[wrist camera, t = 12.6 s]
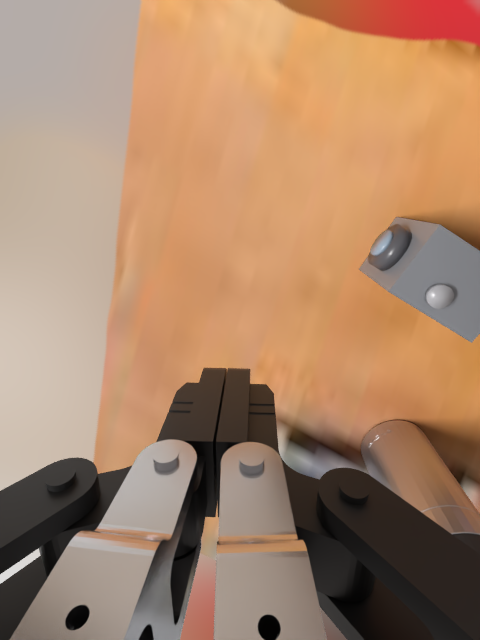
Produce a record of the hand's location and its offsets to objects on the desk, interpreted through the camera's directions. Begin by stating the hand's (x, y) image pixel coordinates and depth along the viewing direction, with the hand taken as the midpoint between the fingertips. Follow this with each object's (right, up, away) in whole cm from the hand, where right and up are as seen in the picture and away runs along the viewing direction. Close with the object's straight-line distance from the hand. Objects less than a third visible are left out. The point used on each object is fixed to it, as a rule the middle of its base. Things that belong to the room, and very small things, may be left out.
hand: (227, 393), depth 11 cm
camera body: (+21, +10, +30) cm, 37 cm away
